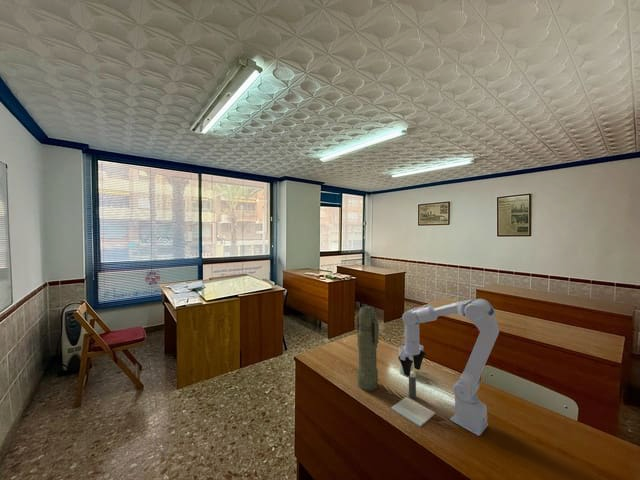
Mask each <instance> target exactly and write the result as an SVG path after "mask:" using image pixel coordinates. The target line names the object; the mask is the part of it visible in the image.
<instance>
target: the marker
mask: <svg viewBox="0 0 640 480" xmlns="http://www.w3.org/2000/svg"><path fill="white" fill-rule="evenodd" d="M408 398H409V399H411V400H416V399H417V372H416V371H414V370H413V371H410V376H408Z"/></svg>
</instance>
